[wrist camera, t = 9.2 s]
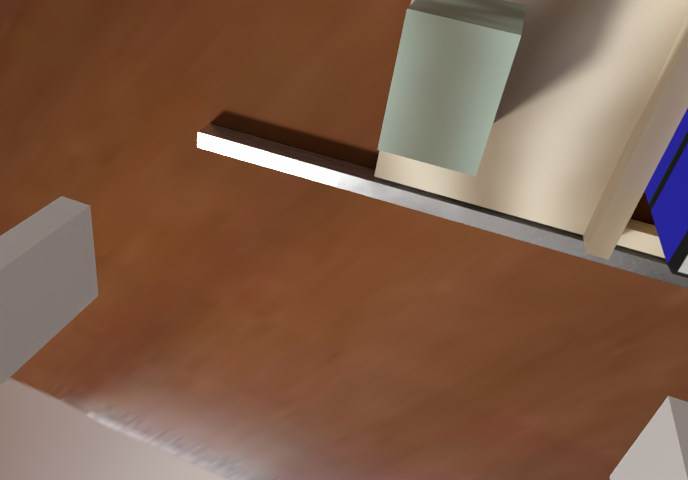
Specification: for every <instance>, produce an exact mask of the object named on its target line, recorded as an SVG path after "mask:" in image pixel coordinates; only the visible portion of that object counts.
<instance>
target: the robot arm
mask: <svg viewBox="0 0 688 480" xmlns="http://www.w3.org/2000/svg"><path fill="white" fill-rule="evenodd" d="M97 296H98V286H97V275H96V264H95V253H94V242H93V231H92V220H91V209H90V206H89V205H86V204H83V203H80V202H77V201H74V200H71V199H68V198H65V197H62V196H61V197H60V198H58V199H57V200H55V201H54V202H52V203H50V204H49V205H47V206H46V207H44V208H43V209H41V210H40V211H38V212H37V213H35V214H34V215H32V216H30V217H29V218H27V219H26V220H24V221H23V222H21V223H20V224H18V225H17V226H15V227H14V228H12V229H11V230H9V231H7V232H6V233H4V234H3V235H1V236H0V386H1V385H2V384H3V383H4V382H5V381H6V380H7V379H8V378H10V377H11V376H12V375H13V374H14V373H15V372H16V371H17V370H18V369H19V368H20V367H21V366H23V365H24V364H25V363H26V362H27V361H28V360H29V359H30V358H31V357H32V356H33V355H34V354H35V353H37V352H38V351H39V350H40V349H41V348H42V347H43V346H44V345H45V344H46V343H47V342H48V341H50V340H51V339H52V338H53V337H54V336H55V335H56V334H57V333H58V332H59V331H60V330H61V329H63V328H64V327H65V326H66V325H67V324H68V323H69V322H70V321H71V320H72V319H73V318H74V317H75V316H77V315H78V314H79V313H80V312H81V311H82V310H83V309H84V308H85V307H86V306H87V305H88V304H90V303H91V302H92V301H93V300H94V299H95V298H96V297H97ZM610 480H688V402H685V401H682V400H679V399H676V398H673V397H670V396H668V397H667V398H666V400H665V401H664V402H663V404H662V405H661V407H660V408H659V409H658V411H657V412H656V413H655V415H654V416H653V418H652V419H651V420H650V422H649V423H648V424H647V426H646V427H645V429H644V430H643V431H642V433H641V434H640V435H639V437H638V438H637V439H636V441H635V442H634V444H633V445H632V446H631V448H630V449H629V450H628V452H627V453H626V455H625V456H624V457H623V459H622V460H621V461H620V463H619V464H618V466H617V467H616V468H615V470H614V471H613V472H612V474H611V475H610Z"/></svg>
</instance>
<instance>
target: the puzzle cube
mask: <svg viewBox="0 0 688 480" xmlns="http://www.w3.org/2000/svg"><path fill="white" fill-rule="evenodd" d="M644 192H645V195H646V199H647V202H648V205H649V207H650V209H651V214H652V217H653V220H654V224H655V227H656V230H657V233H658V237H659V240H660V243H661V246H662V249H663V253H664V256H665V259H666V262H667V265H668V267H669V269H670V271H671V273H672V274H675V275H678V276H682V277H685V278H688V108H687V110H686V112H685V114H684V116H683V118H682V120H681V122H680V123H679V125H678V127H677V129H676V131H675V133H674V135H673V137H672V139H671V141H670V143H669V145H668V147H667V148H666V150H665V152H664V154H663V156H662V158H661V160H660V162H659V164H658V166H657V168H656V170H655V172H654V173H653V175H652V177H651V179H650V181H649V183H648V185H647V187H646V189H645V191H644Z"/></svg>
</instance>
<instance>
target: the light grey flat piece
mask: <svg viewBox="0 0 688 480" xmlns="http://www.w3.org/2000/svg"><path fill="white" fill-rule="evenodd" d="M198 147H199V148H202V149H206V150H209V151H213V152H216V153H220V154H223V155H226V156H230V157H233V158H237V159H240V160H244V161H247V162H251V163H254V164H258V165H261V166H265V167H268V168H272V169H275V170H279V171H282V172H286V173H289V174H293V175H296V176H300V177H303V178H307V179H310V180H313V181H317V182H320V183H324V184H327V185H331V186H334V187H338V188H341V189H345V190H348V191H352V192H355V193H359V194H362V195H366V196H369V197H373V198H376V199H380V200H383V201H387V202H390V203H393V204H397V205H400V206H404V207H407V208H411V209H414V210H418V211H421V212H425V213H428V214H432V215H435V216H439V217H442V218H446V219H449V220H453V221H456V222H460V223H463V224H467V225H470V226H474V227H477V228H480V229H484V230H487V231H491V232H494V233H498V234H501V235H505V236H508V237H512V238H515V239H519V240H522V241H526V242H529V243H533V244H536V245H540V246H543V247H547V248H550V249H554V250H557V251H560V252H564V253H567V254H571V255H574V256H578V257H581V258H585V259H588V260H592V261H595V262H599V263H602V264H606V265H609V266H613V267H616V268H620V269H623V270H627V271H630V272H634V273H637V274H641V275H644V276H647V277H651V278H654V279H658V280H661V281H665V282H668V283H672V284H675V285H679V286H682V287H686V288H688V278H685V277H682V276H678V275H675V274H672V273H671V271H670V269H669V267H668V265H667V262H666V259H665V258H662V257H659V256H655V255H652V254H648V253H644V252H641V251H637V250H634V249H630V248H627V247H623V246H620V245H616V246H615V248H614V250H613V252H612V254H611V256H610V258H609V260H608V259H604V258H601V257H597V256H594V255H590V254H587V253H585V249H584V239H583V235H581V234H577V233H573V232H570V231H566V230H563V229H559V228H556V227H552V226H549V225H545V224H541V223H538V222H534V221H531V220H527V219H524V218H520V217H517V216H513V215H510V214H506V213H502V212H499V211H495V210H492V209H488V208H485V207H481V206H478V205H474V204H470V203H467V202H463V201H460V200H456V199H453V198H449V197H446V196H442V195H438V194H435V193H431V192H428V191H424V190H421V189H417V188H414V187H410V186H407V185H403V184H399V183H396V182H392V181H389V180H385V179H382V178H378V177H375V176H374V175H375V170H374V169H371V168H367V167H364V166H360V165H356V164H353V163H349V162H346V161H342V160H339V159H335V158H331V157H328V156H324V155H321V154H317V153H314V152H310V151H306V150H303V149H299V148H296V147H292V146H288V145H285V144H281V143H278V142H274V141H271V140H267V139H263V138H260V137H256V136H253V135H249V134H246V133H242V132H238V131H235V130H231V129H228V128H224V127H221V126H217V125H213V124H208V125H207V126H206V127H204V128H203V129H202V130H200V131H199V132H198Z"/></svg>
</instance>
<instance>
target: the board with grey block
mask: <svg viewBox="0 0 688 480" xmlns="http://www.w3.org/2000/svg"><path fill="white" fill-rule="evenodd" d="M687 108H688V0H411V4H410V6H409V7H408V8H407V11H406V16H405V21H404V26H403V30H402V35H401V40H400V45H399V50H398V54H397V59H396V64H395V69H394V73H393V78H392V83H391V88H390V93H389V97H388V102H387V107H386V112H385V117H384V121H383V126H382V131H381V136H380V141H379V145H378V150H380V151H379V156H378V161H377V165H376V170H375V175H374V176H375V177H378V178H382V179H385V180H389V181H392V182H396V183H399V184H403V185H407V186H410V187H414V188H417V189H421V190H424V191H428V192H431V193H435V194H438V195H442V196H446V197H449V198H453V199H456V200H460V201H463V202H467V203H470V204H474V205H478V206H481V207H485V208H488V209H492V210H495V211H499V212H502V213H506V214H510V215H513V216H517V217H520V218H524V219H527V220H531V221H534V222H538V223H541V224H545V225H549V226H552V227H556V228H559V229H563V230H566V231H570V232H573V233H577V234H581V235H583V239H584V249H585V253H587V254H590V255H594V256H597V257H601V258H604V259H608V260H609V258H610V256H611V254H612V252H613V250H614V248H615V246H616V245H620V246H623V247H627V248H630V249H634V250H637V251H641V252H644V253H648V254H652V255H655V256H659V257H662V258H665V256H664V253H663V249H662V246H661V243H660V240H659V237H658V233H657V230H656V227H655V225H651V224H648V223H644V222H640V221H637V220H633V219H630V218H631V216H632V214H633V212H634V210H635V208H636V206H637V204H638V202H639V200H640V198H641V197H642V195H643V193H644V191H645V189H646V187H647V185H648V183H649V181H650V179H651V177H652V175H653V173H654V172H655V170H656V168H657V166H658V164H659V162H660V160H661V158H662V156H663V154H664V152H665V150H666V148H667V147H668V145H669V143H670V141H671V139H672V137H673V135H674V133H675V131H676V129H677V127H678V125H679V123H680V122H681V120H682V118H683V116H684V114H685V112H686V110H687Z"/></svg>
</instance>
